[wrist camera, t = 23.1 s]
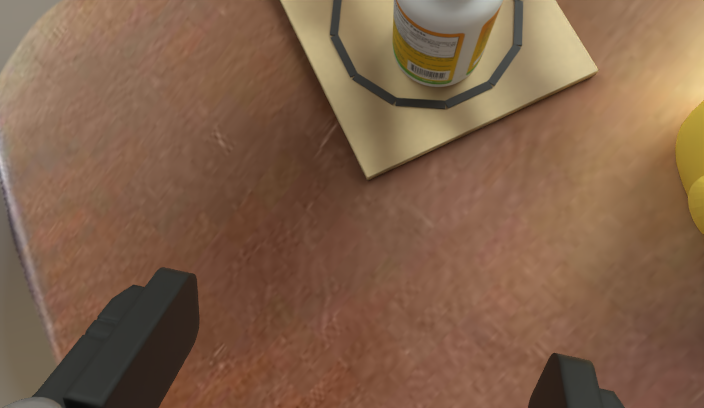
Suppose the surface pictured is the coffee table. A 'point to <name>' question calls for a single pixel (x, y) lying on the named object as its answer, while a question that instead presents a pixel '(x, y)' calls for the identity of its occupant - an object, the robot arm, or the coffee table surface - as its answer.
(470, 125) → the board
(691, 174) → the teapot
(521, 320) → the coffee table surface
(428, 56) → the supplement bottle
